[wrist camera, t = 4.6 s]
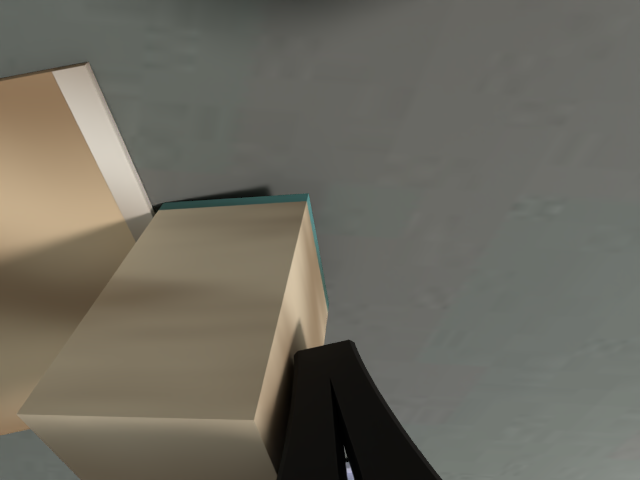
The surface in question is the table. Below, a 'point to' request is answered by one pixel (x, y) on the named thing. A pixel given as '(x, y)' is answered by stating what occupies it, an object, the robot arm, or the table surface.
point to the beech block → (190, 347)
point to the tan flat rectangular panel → (57, 219)
